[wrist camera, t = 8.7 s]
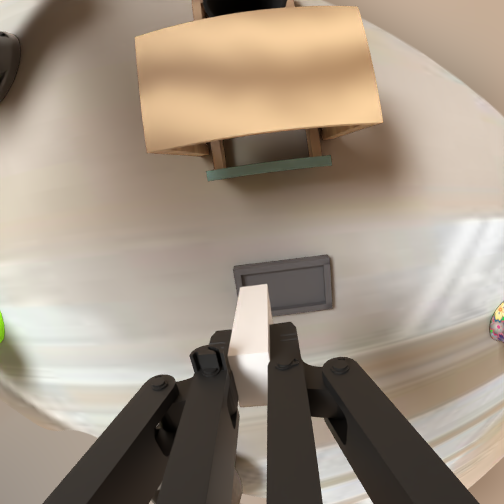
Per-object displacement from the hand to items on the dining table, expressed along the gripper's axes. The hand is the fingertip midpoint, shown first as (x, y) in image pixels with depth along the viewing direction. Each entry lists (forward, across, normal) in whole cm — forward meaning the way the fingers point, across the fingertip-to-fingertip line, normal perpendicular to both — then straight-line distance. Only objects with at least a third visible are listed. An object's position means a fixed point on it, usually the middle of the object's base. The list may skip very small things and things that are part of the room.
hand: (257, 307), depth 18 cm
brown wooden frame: (+23, +2, +14) cm, 27 cm away
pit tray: (+23, +2, -8) cm, 24 cm away
